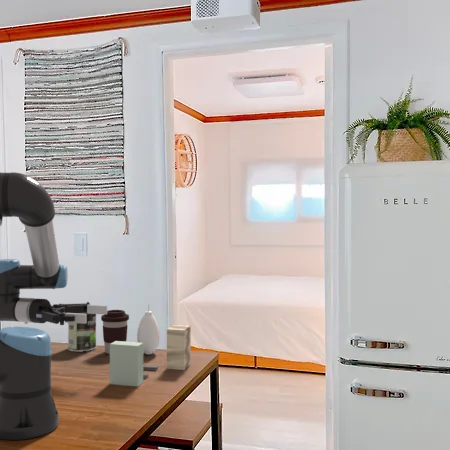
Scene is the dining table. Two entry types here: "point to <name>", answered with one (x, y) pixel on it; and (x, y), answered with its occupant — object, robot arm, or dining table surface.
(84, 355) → the dining table surface
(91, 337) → the can
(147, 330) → the sauce bottle
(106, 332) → the travel mug
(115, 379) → the pale green block
